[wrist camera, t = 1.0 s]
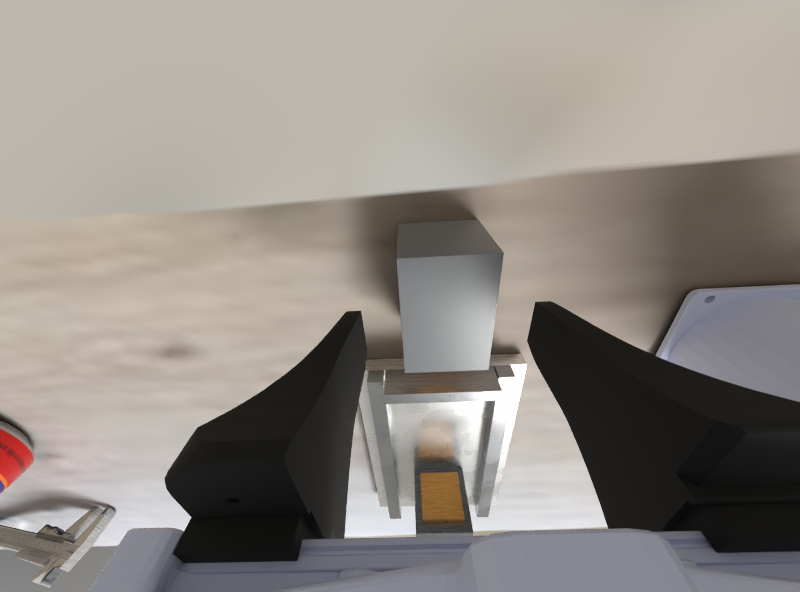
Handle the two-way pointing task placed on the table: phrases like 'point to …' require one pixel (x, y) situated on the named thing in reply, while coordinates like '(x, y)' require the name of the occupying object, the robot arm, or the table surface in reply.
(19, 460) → the soda can
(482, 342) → the block
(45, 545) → the caliper
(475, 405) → the rail
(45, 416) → the table surface
